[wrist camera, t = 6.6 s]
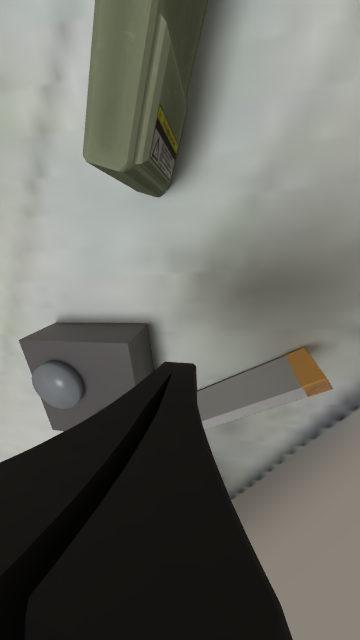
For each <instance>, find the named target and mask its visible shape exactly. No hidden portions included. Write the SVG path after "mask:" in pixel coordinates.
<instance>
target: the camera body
mask: <svg viewBox="0 0 360 640" xmlns="http://www.w3.org/2000/svg"><path fill="white" fill-rule="evenodd" d="M19 342H20V344H21V347H22V350H23V352H24V355H25V358H26V360H27V363H28V366H29V368H30V371H31V373H32V383H33V386H34V388H35V390H36V392H37V393H38V395H39V396H40V397H41V400H42V402H43V405H44V408H45V410H46V413H47V416H48V418H49V421H50V424H51V426H52V429H53V430H59V431H66V430H68V429H70V428H72V427H74V426H76V425H77V424H79V423H81V422H83V421H84V420H86V419H88V418H89V417H91V416H93V415H94V414H96V413H98V412H99V411H101V410H102V409H104V408H105V407H107V406H108V405H110V404H111V403H113V402H114V401H115V400H117V399H118V398H120V397H121V396H122V395H124V394H125V393H127V392H128V391H129V390H131V389H132V388H133V387H135V386H136V385H137V384H138V383H140V382H141V381H142V380H143V379H145V378H146V377H147V376H148V375H150V374H151V373H152V372H153V371H154V369H153V361H152V354H151V347H150V340H149V332H148V325H147V324H128V323H54V324H52V325H50V326H48V327H45V328H43V329H41V330H39V331H37V332H35V333H33V334H31V335H29V336H26V337H24V338H22V339H20V340H19Z"/></svg>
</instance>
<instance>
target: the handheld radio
mask: <svg viewBox="0 0 360 640" xmlns="http://www.w3.org/2000/svg"><path fill="white" fill-rule="evenodd" d="M207 2H208V0H95V9H94V22H93V34H92V47H91V59H90V72H89V84H88V97H87V109H86V122H85V134H84V147H83V156H84V158H85V160H86V162H88V163H89V164H91V165H93V166H95V167H96V168H98V169H100V170H102V171H103V172H105V173H107V174H108V175H110V176H112V177H114V178H115V179H117V180H119V181H120V182H122V183H124V184H126V185H127V186H129V187H131V188H133V189H134V190H136V191H138V192H141V193H144V194H148V195H151V196H155V197H160V196H162V195H163V194H164V191H165V189H167V188H168V186H169V184H170V181H171V177H172V173H173V168H174V164H175V160H176V155H177V151H178V147H179V143H180V138H181V134H182V130H183V125H184V121H185V117H186V112H187V105H186V101H185V99H186V95H187V90H188V86H189V81H190V77H191V73H192V68H193V64H194V59H195V55H196V51H197V46H198V42H199V37H200V33H201V28H202V24H203V20H204V15H205V11H206V6H207Z"/></svg>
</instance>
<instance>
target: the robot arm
mask: <svg viewBox="0 0 360 640" xmlns="http://www.w3.org/2000/svg"><path fill="white" fill-rule="evenodd" d="M0 640H293V639H292V636H291V634H290V631H289V628H288V625H287V622H286V619H285V616H284V613H283V610H282V607H281V605H280V602H279V600H278V598H277V596H276V594H275V592H274V590H273V588H272V586H271V584H270V582H269V580H268V578H267V576H266V574H265V572H264V570H263V568H262V566H261V564H260V562H259V560H258V558H257V556H256V554H255V551H254V550H253V547H252V545H251V543H250V541H249V539H248V537H247V535H246V533H245V530H244V529H243V526H242V524H241V522H240V519H239V517H238V515H237V513H236V511H235V509H234V507H233V504H232V502H231V499H230V497H229V495H228V492H227V490H226V487H225V485H224V482H223V480H222V478H221V475H220V473H219V470H218V468H217V465H216V463H215V460H214V457H213V455H212V452H211V449H210V446H209V443H208V440H207V437H206V434H205V431H204V428H203V424H202V421H201V417H200V413H199V409H198V404H197V379H196V366H195V365H194V364H191V363H176V362H164V363H163V364H162V365H161V366H159V367H158V368H157V369H156V370H154V371H153V372H152V373H151V374H150V375H148V376H147V377H146V378H145V379H143V380H142V381H141V382H140V383H138V384H137V385H136V386H135V387H133V388H132V389H131V390H129V391H128V392H127V393H125V394H124V395H122V396H121V397H120V398H118V399H117V400H115V401H114V402H113V403H111V404H110V405H108V406H107V407H105V408H104V409H102V410H101V411H99V412H98V413H96V414H94V415H93V416H91V417H89V418H88V419H86V420H84V421H83V422H81V423H79V424H77V425H76V426H74V427H72V428H70V429H68V430H66V431H64V432H62V433H61V434H59V435H57V436H55V437H53V438H51V439H49V440H47V441H45V442H43V443H42V444H39V445H37V446H35V447H33V448H31V449H29V450H27V451H25V452H23V453H21V454H18V455H16V456H14V457H12V458H10V459H7V460H5V461H3V462H1V463H0Z"/></svg>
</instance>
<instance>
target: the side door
mask: <svg viewBox="0 0 360 640" xmlns="http://www.w3.org/2000/svg"><path fill="white" fill-rule="evenodd" d="M332 389H333V388H332V386H331V385H330V383H329V381H328V379H327V378H326V376H325V375H324V374H323V372H322V371H321V369H320V368H319V367H318V365H317V364H316V363H315V361H314V360H313V358H312V357H311V356H310V354H309V353H308V352H307V350H306V349H305V348H302V349H299V350H297V351H294V352H292V353H289V354H287V355H286V356H283V357H281V358H278V359H276V360H274V361H271V362H269V363H266V364H264V365H261V366H259V367H256V368H254V369H251V370H249V371H247V372H244V373H242V374H239V375H237V376H234V377H232V378H229V379H227V380H224V381H222V382H220V383H217V384H215V385H212V386H210V387H207V388H205V389H202V390H200V391H197V404H198V409H199V413H200V417H201V421H202V424H203V428H204V430H205V429H208V428H211V427H214V426H217V425H221V424H224V423H227V422H230V421H233V420H236V419H239V418H242V417H245V416H249V415H252V414H255V413H258V412H261V411H264V410H267V409H270V408H274V407H277V406H280V405H283V404H286V403H289V402H292V401H295V400H298V399H302V398H305V397H310V396H313V395H316V394H319V393H322V392H326V391H329V390H332Z"/></svg>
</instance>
